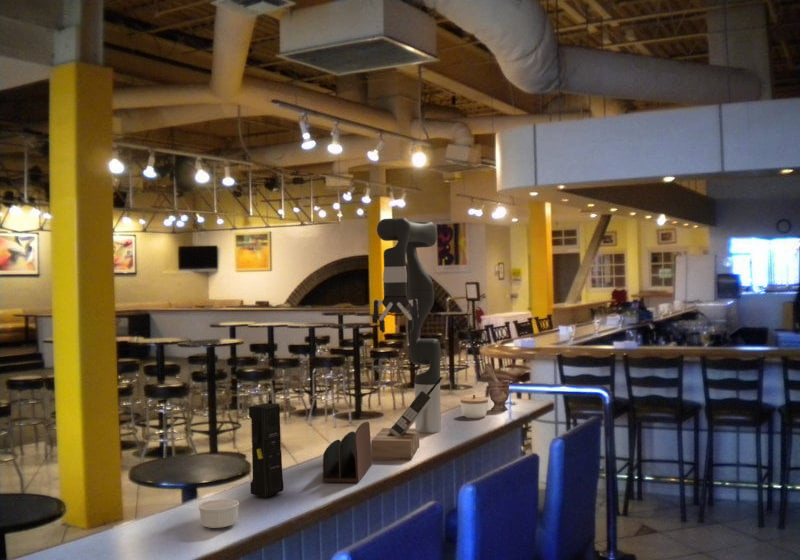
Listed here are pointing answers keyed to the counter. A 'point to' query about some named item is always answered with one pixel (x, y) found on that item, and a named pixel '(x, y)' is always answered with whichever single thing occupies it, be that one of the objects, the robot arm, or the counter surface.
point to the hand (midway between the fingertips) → (396, 332)
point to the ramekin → (219, 513)
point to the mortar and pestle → (497, 390)
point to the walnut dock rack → (395, 445)
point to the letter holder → (348, 457)
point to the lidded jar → (474, 407)
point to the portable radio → (266, 449)
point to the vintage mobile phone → (412, 413)
